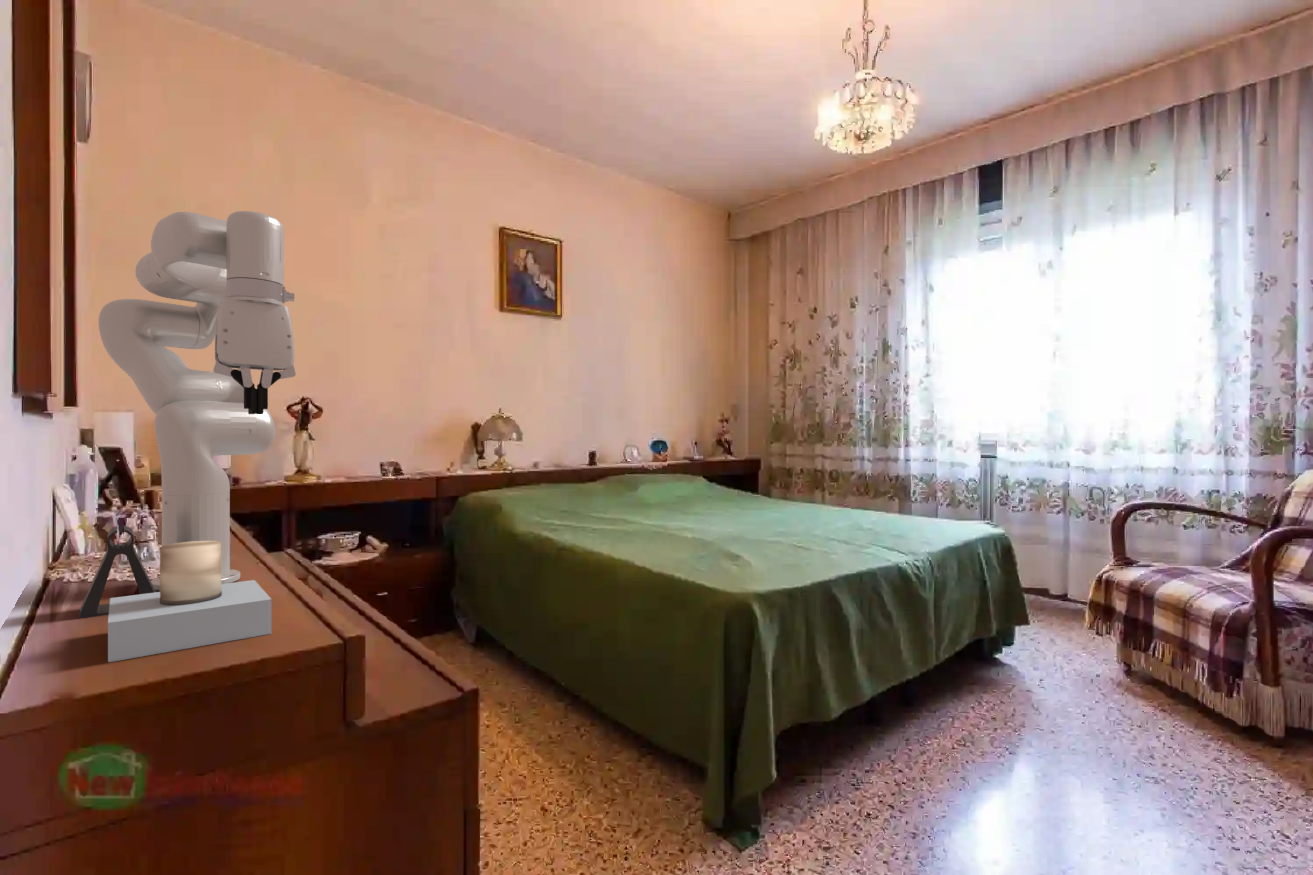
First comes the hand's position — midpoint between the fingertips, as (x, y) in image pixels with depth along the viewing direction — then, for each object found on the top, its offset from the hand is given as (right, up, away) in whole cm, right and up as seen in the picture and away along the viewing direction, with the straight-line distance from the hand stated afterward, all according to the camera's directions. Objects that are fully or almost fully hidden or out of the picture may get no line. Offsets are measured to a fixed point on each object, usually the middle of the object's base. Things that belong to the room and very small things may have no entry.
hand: (255, 413), depth 97 cm
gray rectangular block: (+2, -29, -16) cm, 33 cm away
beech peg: (+2, -29, -16) cm, 33 cm away
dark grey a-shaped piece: (-17, -29, -4) cm, 34 cm away
